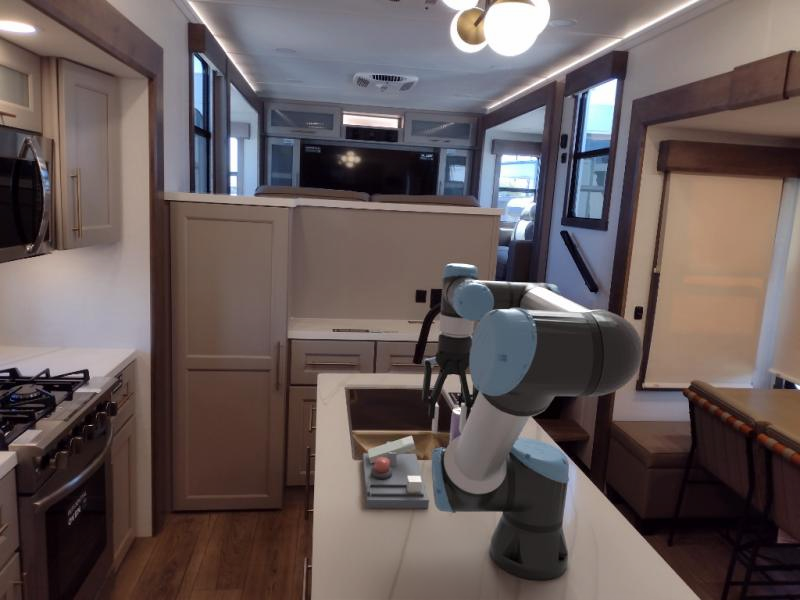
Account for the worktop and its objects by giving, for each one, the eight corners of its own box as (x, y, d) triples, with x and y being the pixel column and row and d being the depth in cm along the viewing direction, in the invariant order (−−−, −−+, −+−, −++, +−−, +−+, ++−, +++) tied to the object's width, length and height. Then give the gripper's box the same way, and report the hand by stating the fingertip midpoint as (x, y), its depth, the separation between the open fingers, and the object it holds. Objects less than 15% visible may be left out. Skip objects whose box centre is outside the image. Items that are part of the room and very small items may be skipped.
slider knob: (420, 494, 133) (421, 482, 133) (408, 494, 133) (408, 481, 133) (419, 487, 136) (420, 475, 136) (406, 487, 136) (407, 475, 135)
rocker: (415, 449, 147) (413, 442, 147) (370, 463, 147) (368, 457, 147) (413, 440, 152) (411, 434, 152) (369, 454, 152) (367, 449, 151)
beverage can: (471, 470, 151) (476, 416, 149) (448, 469, 151) (452, 414, 149) (469, 460, 157) (473, 407, 155) (447, 459, 157) (451, 406, 155)
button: (389, 473, 140) (390, 463, 140) (374, 473, 140) (375, 463, 139) (388, 466, 144) (388, 457, 143) (373, 466, 143) (374, 457, 143)
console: (428, 508, 131) (430, 485, 130) (366, 508, 130) (367, 485, 129) (415, 460, 155) (416, 441, 154) (362, 460, 153) (363, 440, 152)
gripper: (492, 331, 134) (483, 426, 138) (412, 328, 132) (405, 424, 136) (501, 339, 126) (491, 439, 130) (416, 335, 124) (409, 437, 128)
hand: (448, 431), depth 133 cm, fingers open, 6 cm apart
